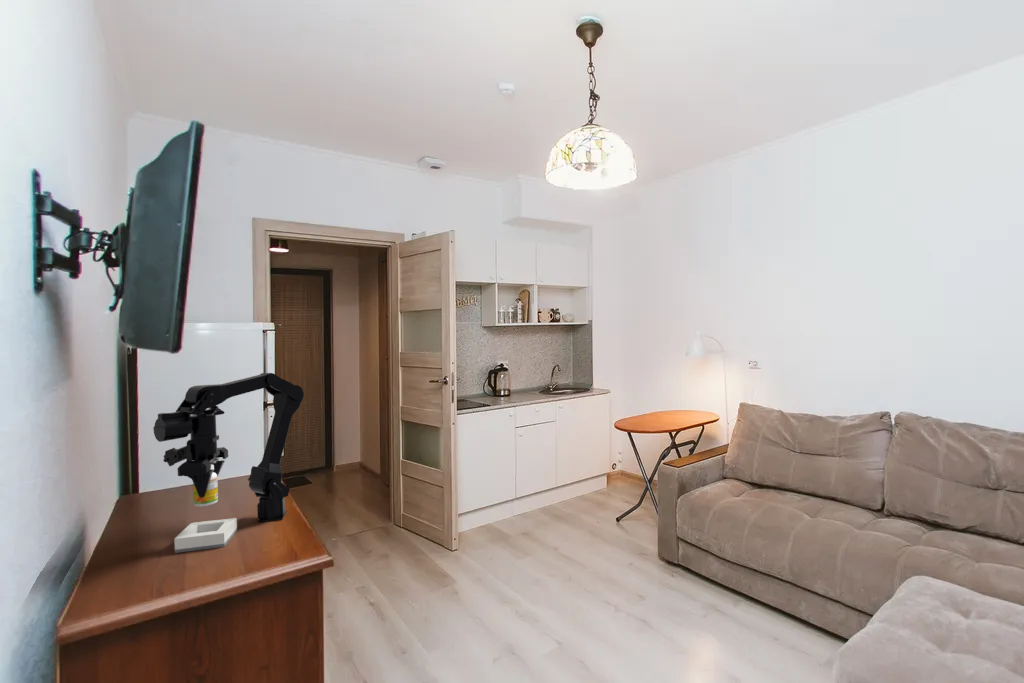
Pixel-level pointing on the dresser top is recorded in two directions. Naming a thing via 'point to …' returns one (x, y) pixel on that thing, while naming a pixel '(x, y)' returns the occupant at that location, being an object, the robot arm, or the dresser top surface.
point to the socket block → (206, 535)
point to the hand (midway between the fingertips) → (205, 493)
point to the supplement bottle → (207, 492)
